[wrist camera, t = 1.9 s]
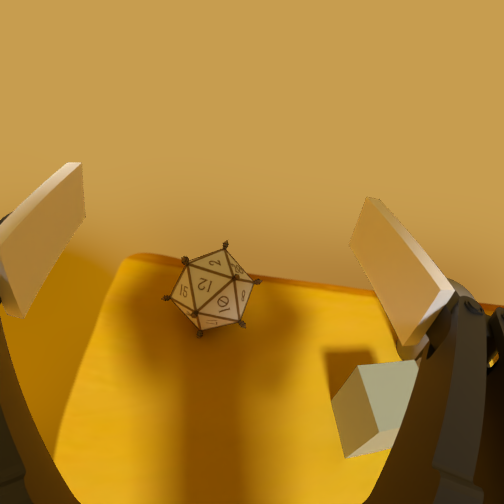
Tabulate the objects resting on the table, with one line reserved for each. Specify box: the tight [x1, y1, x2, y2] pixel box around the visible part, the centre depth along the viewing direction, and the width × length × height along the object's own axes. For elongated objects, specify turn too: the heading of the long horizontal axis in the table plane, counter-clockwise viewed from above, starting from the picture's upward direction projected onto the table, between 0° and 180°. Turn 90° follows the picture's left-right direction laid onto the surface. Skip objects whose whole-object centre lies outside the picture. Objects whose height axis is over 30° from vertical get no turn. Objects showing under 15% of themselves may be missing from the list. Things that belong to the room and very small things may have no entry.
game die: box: [162, 241, 262, 338], centre depth 29 cm, size 9×8×10 cm
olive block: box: [331, 360, 419, 458], centre depth 21 cm, size 6×6×6 cm
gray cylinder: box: [396, 278, 475, 368], centre depth 29 cm, size 6×6×9 cm
